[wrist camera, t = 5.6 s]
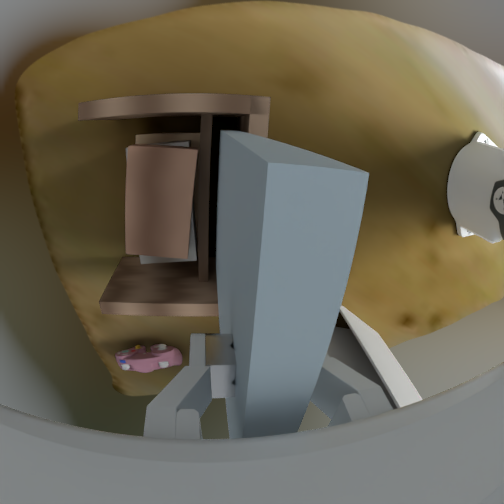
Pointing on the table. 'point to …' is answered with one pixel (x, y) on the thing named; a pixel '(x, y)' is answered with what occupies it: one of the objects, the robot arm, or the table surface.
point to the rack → (204, 269)
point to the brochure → (371, 359)
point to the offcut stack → (162, 197)
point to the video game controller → (148, 358)
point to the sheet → (281, 272)
